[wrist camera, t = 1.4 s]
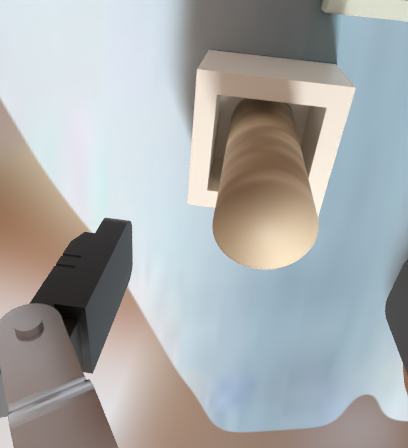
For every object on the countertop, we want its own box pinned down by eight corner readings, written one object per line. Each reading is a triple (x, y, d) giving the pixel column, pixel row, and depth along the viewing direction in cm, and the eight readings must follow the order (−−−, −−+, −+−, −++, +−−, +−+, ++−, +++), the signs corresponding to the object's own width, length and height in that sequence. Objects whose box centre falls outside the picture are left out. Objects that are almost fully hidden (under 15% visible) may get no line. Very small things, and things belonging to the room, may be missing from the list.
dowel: (299, 96, 22) (331, 189, 12) (286, 156, 24) (304, 275, 14) (234, 88, 22) (218, 174, 13) (227, 149, 24) (208, 261, 15)
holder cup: (336, 64, 21) (355, 87, 17) (307, 179, 25) (316, 221, 21) (209, 49, 22) (196, 69, 17) (199, 165, 25) (187, 204, 21)
